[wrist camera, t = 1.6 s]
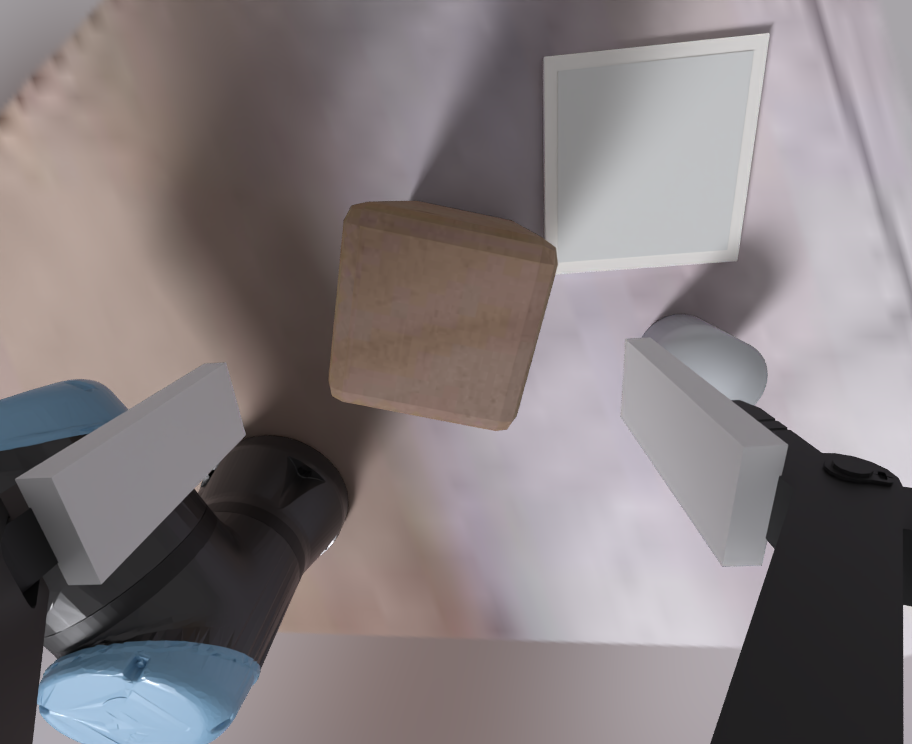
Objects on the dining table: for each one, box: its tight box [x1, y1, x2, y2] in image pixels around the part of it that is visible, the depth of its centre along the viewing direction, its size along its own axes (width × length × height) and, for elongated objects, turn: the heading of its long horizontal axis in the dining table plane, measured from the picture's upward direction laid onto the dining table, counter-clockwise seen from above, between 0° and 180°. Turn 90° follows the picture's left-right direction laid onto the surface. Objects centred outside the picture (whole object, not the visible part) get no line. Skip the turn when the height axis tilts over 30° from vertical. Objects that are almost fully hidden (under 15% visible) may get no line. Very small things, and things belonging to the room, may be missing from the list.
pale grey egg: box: [642, 314, 768, 405], centre depth 38 cm, size 7×7×8 cm
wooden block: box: [328, 201, 558, 431], centre depth 30 cm, size 10×10×20 cm
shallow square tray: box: [543, 33, 770, 275], centre depth 36 cm, size 16×16×1 cm
